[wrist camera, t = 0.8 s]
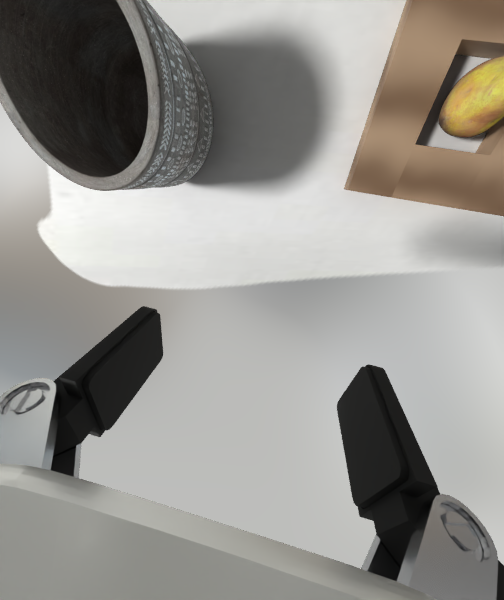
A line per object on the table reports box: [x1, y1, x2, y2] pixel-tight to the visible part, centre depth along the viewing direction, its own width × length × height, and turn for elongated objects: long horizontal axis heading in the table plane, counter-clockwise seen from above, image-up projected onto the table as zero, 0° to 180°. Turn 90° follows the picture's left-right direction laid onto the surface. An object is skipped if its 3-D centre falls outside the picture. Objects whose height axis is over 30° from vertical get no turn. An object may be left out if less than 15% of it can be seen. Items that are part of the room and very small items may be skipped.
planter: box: [0, 0, 213, 191], centre depth 21 cm, size 14×14×15 cm
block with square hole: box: [344, 0, 504, 216], centre depth 21 cm, size 18×18×2 cm
